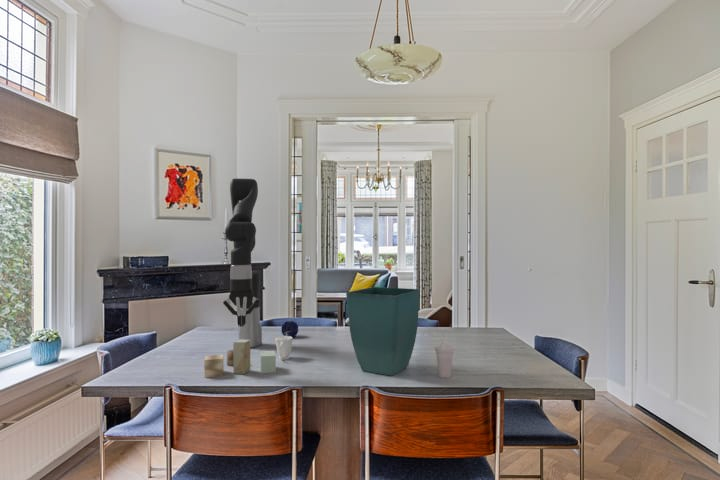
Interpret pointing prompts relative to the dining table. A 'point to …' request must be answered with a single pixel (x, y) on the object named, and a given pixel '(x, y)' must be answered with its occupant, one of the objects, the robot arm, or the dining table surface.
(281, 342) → the cup
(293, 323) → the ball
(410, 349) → the flower pot
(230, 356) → the walnut cylinder
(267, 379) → the dining table surface
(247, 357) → the box
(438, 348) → the smoothie
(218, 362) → the beech cube
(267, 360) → the sage block
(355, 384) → the dining table surface
